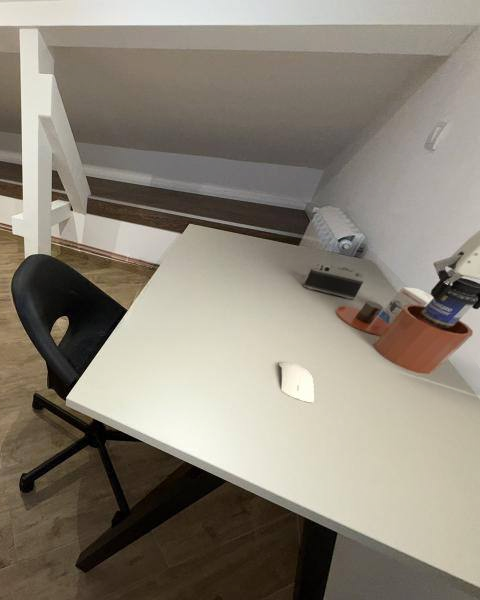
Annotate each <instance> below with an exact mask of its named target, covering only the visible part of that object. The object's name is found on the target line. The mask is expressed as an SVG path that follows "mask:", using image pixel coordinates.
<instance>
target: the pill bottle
mask: <svg viewBox="0 0 480 600" xmlns="http://www.w3.org/2000/svg"><path fill="white" fill-rule="evenodd" d="M450 285H451V286H452V287H451V288H450V289H449V290H448V292H447V293H446V294H445V295H444V296H443V297H442V298H441V299H440V300H437V299H435V298H434V297H433V299H432V300H431V301H430V302H429V304H428V305H427V306H426V307H425V308H424V309H423V310H422V311H421V313H420V316H421V318H423V319H424V320H426V321H428V322H429V323H431V324H434V325H437V326H440V327H445V328H450V327H453V326H454V325H455V324H456V323H457V322H458V321H459V320H461V319H462V318H463V317H464V316H465V315H466V314H467V313H468V312H469V311H470V309H472V306H473V305H474V304H475V303H476V302H477V301H478V297H477V295H476V294H477V293H480V282H477V281H474V280H472V279H468V278H464V277H461V278H460V279H458V280H456V281H454V282H453V283H451V284H450Z"/></svg>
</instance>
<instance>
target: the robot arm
mask: <svg viewBox="0 0 480 600" xmlns="http://www.w3.org/2000/svg"><path fill="white" fill-rule="evenodd" d="M433 267H434V269H435V271H436V274H437V277H438V279H439V281H438V282H437V283H436V284H435V286H433V288H432V289H431V290H430V296H432V297H433V298H435V299H437V300H440V299H441V298H442V297H443V296H444V295H445V294H446V293H447V292H448V290H449V289H450V288H451V287H452V286H451V285H452V283H453V282H454V281H456V280H458V279H460V278H464V277H467V278H471V279H475V280H480V229H479V230H478V231H476V232H475V233H474V234H473V235H472V236H471V237H470V238H468V239H467V240H466V241H465V242H464V243H463V244H462V245H461V246H460V247H459V248H458V249H457V250H455V252H454V253H453V254H452V255H451V256H450V257H447V258H443V259H439V260H437V261H434V262H433ZM446 267H448V268H450V269H448V270H447V269H446ZM476 295H477V297H478V301H477V302H476V303H475V304H474V305H473V306H472V307H471V309H473V310H479V309H480V293H477V294H476Z"/></svg>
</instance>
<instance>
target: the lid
mask: <svg viewBox="0 0 480 600" xmlns="http://www.w3.org/2000/svg"><path fill="white" fill-rule="evenodd" d="M383 309H384V307H383V305H381V304H379V303H377V302H374V301H371V300H367V301H366V302H365V303H364V304H363V306H362V307H361V308H358V307H353V306H340V307H337V309H336V311H335V314H336V316H337V317H338V318H339V319H340V321H343V322H344V323H345V324H346V325H348V326H350V327H352V328H354V329H356V330H358V331H361V332H364V333H366V334H370V335H373V336H374V335H375V336H380V335H381V333H382V332H383V331H384V330H385V328H386V327H387V326H388V325H389V324H388V323H386V322H385V321H384V320H382V319H381V318H380V317H379V315H380V312H381V311H383Z"/></svg>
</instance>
